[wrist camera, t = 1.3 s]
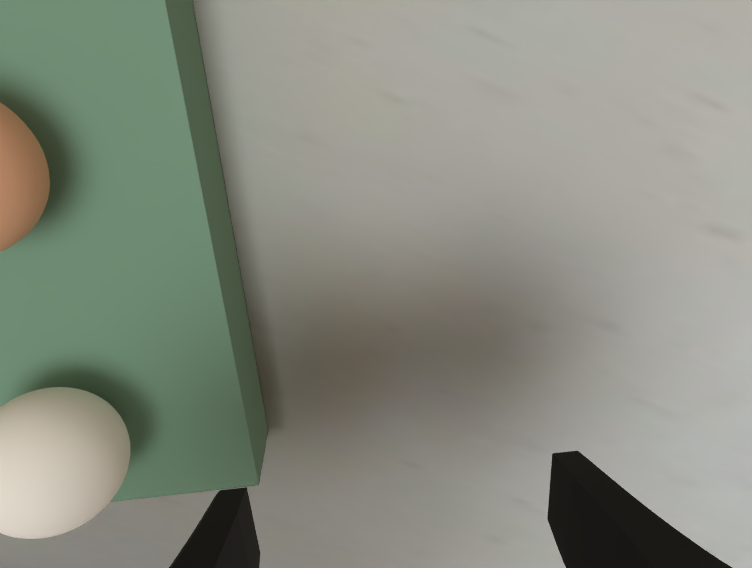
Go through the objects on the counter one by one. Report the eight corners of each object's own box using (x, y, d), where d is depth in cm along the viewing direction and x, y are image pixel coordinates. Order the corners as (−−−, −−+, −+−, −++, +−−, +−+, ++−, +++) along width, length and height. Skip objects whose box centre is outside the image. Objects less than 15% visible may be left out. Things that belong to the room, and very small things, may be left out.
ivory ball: (161, 460, 17) (115, 564, 14) (37, 473, 17) (-43, 583, 13) (131, 354, 16) (72, 440, 12) (-4, 368, 16) (-108, 458, 12)
